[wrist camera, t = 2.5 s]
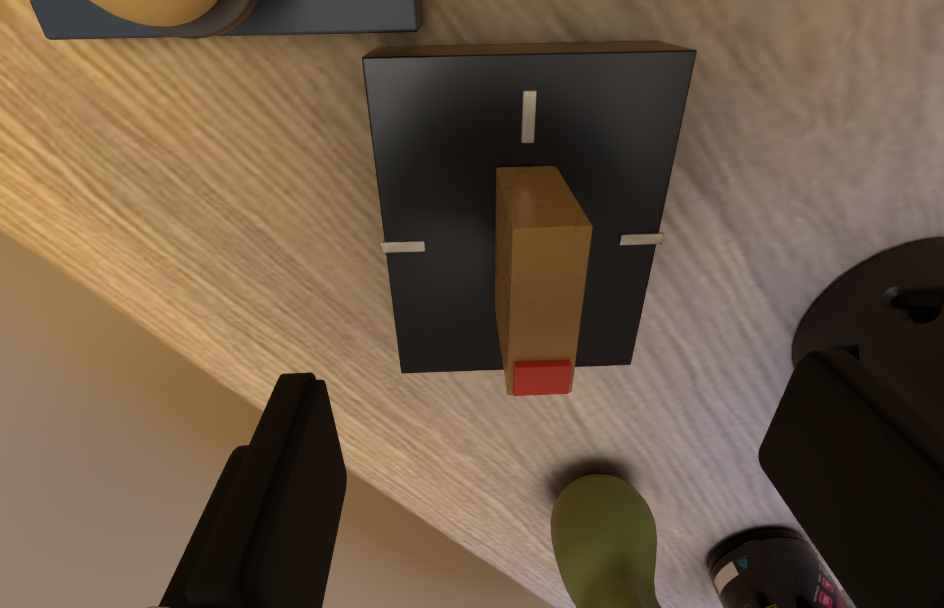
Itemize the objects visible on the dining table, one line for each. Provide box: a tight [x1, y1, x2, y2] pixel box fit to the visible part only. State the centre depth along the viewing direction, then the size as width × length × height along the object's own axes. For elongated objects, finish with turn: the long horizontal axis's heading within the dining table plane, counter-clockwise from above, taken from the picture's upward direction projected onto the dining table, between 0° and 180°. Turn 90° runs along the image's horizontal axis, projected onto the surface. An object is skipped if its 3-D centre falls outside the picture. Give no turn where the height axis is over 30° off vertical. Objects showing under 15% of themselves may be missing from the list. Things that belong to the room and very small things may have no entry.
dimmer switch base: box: [362, 41, 697, 373], centre depth 17 cm, size 11×9×3 cm
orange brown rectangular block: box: [495, 166, 593, 396], centre depth 14 cm, size 5×2×5 cm, turn 1°
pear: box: [551, 474, 661, 608], centre depth 24 cm, size 6×5×10 cm
